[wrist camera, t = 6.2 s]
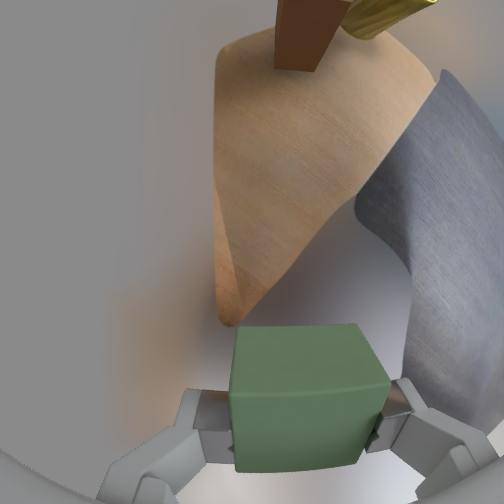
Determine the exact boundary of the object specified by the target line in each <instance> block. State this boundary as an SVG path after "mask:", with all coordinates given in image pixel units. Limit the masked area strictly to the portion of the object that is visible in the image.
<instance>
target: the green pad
mask: <svg viewBox="0 0 504 504" xmlns="http://www.w3.org/2000/svg"><path fill="white" fill-rule="evenodd" d="M390 388H391V380H390V378H389V377H388V375H387V373H386V371H385V370H384V368H383V366H382V365H381V363H380V361H379V359H378V358H377V356H376V355H375V353H374V351H373V350H372V348H371V346H370V344H369V343H368V341H367V340H366V338H365V336H364V335H363V333H362V331H361V330H360V328H359V327H358V325H357V324H355V323H352V324H335V325H316V326H315V325H313V326H275V327H274V326H268V327H252V326H251V327H250V326H247V327H246V326H241V327H240V326H239V327H237V329H236V336H235V344H234V351H233V359H232V367H231V375H230V382H229V391H228V400H229V412H230V420H231V422H232V425H233V435H234V438H233V444H234V446H235V470H236V472H238V473H277V472H296V471H308V470H317V469H326V468H333V467H340V466H346V465H352V464H355V463H357V461H358V459H359V457H360V455H361V453H362V451H363V449H364V446H365V444H366V442H367V440H368V438H369V435H370V434H371V433H372V431H373V429H374V425H375V422H376V420H377V418H378V416H379V413H380V411H381V410H382V408H383V406H384V403H385V401H386V398H387V395H388V393H389V390H390Z"/></svg>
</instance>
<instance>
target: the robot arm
mask: <svg viewBox="0 0 504 504" xmlns="http://www.w3.org/2000/svg"><path fill="white" fill-rule="evenodd" d="M233 438H234V435H233V425H232V422H231V420H230V412H229V400H228V391H227V392H226V391H213V390H199V389H190V388H186V390H185V391H184V393H183V396H182V400H181V403H180V406H179V409H178V412H177V416H176V419H175V423H174V425H173V426H168V427H166V428H165V429H163V430H162V431H161V432H159V433H158V434H156V435H155V436H153V437H152V438H150V439H149V440H148V441H146V442H144V443H143V444H141V445H140V446H138V447H137V448H135V449H134V450H132V451H131V452H129V453H128V454H126V455H125V456H123V457H121V458H120V459H118V460H117V461H115V462H114V463H112V464H110V466H109V469H108V471H107V473H106V476H105V478H104V480H103V483H102V485H101V487H100V490H99V492H98V494H97V497H96V499H92V498H90V497H87V496H85V495H83V494H80V493H78V492H76V491H73V490H71V489H69V488H67V487H65V486H63V485H61V484H59V483H57V482H55V481H53V480H51V479H49V478H47V477H45V476H43V475H41V474H40V473H38V472H36V471H34V470H33V469H31V468H30V467H28V466H26V465H25V464H23V463H21V462H20V461H18V460H17V459H15V458H14V457H12V456H11V455H9V454H8V453H6V452H5V451H3V450H2V449H0V504H179V502H178V501H177V499H176V498H175V495H176V494H177V493H178V492H179V491H180V490H181V489H182V488H183V487H184V486H185V485H186V484H187V483H188V482H189V481H190V480H191V479H192V478H193V477H194V476H195V475H196V474H197V473H198V472H199V471H200V470H201V469H202V468H203V467H204V466H205V465H206V463H222V464H235V446H234V444H233ZM364 448H365V451H366V453H373V452H378V451H382V450H387V449H390V450H391V451H392V452H394V453H395V454H396V455H397V456H398V457H399V458H401V459H402V460H403V461H405V462H406V463H407V464H408V465H410V466H411V467H412V468H414V469H415V470H416V471H417V472H419V473H420V474H421V475H423V476H424V477H425V478H426V479H425V480H424V481H423V482H422V483H421V484H420V485H419V486H418V487H417V489H416V491H415V492H416V495H417V498H418V500H417V501H414V502H412V503H409V504H504V455H503V456H502V457H499V456H498V454H497V453H496V451H495V449H494V448H493V446H492V445H491V443H490V442H489V440H488V439H487V437H486V436H485V434H484V433H483V432H481V431H479V430H477V429H475V428H473V427H471V426H468V425H466V424H464V423H462V422H460V421H458V420H456V419H454V418H452V417H450V416H448V415H446V414H444V413H442V412H439V411H437V410H435V409H434V408H432V407H431V408H427V406H426V405H425V403H424V402H423V400H422V398H421V397H420V395H419V394H418V392H417V391H416V389H415V387H414V386H413V384H412V383H411V381H410V380H409V379H408V378H401V379H396V380H392V381H391V388H390V390H389V393H388V395H387V398H386V401H385V403H384V406H383V408H382V410H381V411H380V413H379V416H378V418H377V420H376V422H375V425H374V429H373V431H372V433H371V434H370V435H369V438H368V440H367V442H366V444H365V446H364Z"/></svg>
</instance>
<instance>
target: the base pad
mask: <svg viewBox="0 0 504 504" xmlns="http://www.w3.org/2000/svg"><path fill="white" fill-rule="evenodd" d="M352 2H353V0H278V7H277V17H276V26H275V62H274V68H275V69H287V70H298V71H307V72H314V71H315V69H316V68H317V66H318V64H319V62H320V60H321V58H322V56H323V54H324V53H325V51H326V49H327V47H328V45H329V43H330V41H331V40H332V38H333V36H334V34H335V32H336V30H337V29H338V27H339V25H340V23H341V21H342V20H343V18H344V16H345V14H346V12H347V11H348V9H349V7H350V5H351V4H352Z"/></svg>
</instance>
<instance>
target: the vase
mask: <svg viewBox="0 0 504 504" xmlns="http://www.w3.org/2000/svg"><path fill="white" fill-rule="evenodd" d="M437 1H438V0H353V2H352V4H351V5H350V7H349V9H348V11H347V12H346V14H345V16H344V18H343V20H342V21H341V23H340V25H341V27H342V28H343V29H344V30H345V31H346V32H347V33H348V34H349V35H351V36H353V37H355V38H357V39H361V40H371V39H373V38H374V37H375V36H376V35H378V34H380V33H381V32H383V31H384V30H386V29H387V28H389V27H390V26H392V25H393V24H396V23H397V22H399V21H401V20H402V19H404V18H406V17H408V16H410V15H412V14H413V13H416V12H417V11H420V10H422V9H424V8H426V7H428V6H430V5H433V4H435V3H436V2H437Z"/></svg>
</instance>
